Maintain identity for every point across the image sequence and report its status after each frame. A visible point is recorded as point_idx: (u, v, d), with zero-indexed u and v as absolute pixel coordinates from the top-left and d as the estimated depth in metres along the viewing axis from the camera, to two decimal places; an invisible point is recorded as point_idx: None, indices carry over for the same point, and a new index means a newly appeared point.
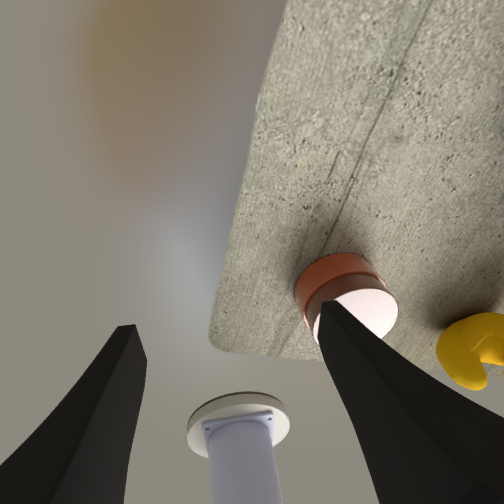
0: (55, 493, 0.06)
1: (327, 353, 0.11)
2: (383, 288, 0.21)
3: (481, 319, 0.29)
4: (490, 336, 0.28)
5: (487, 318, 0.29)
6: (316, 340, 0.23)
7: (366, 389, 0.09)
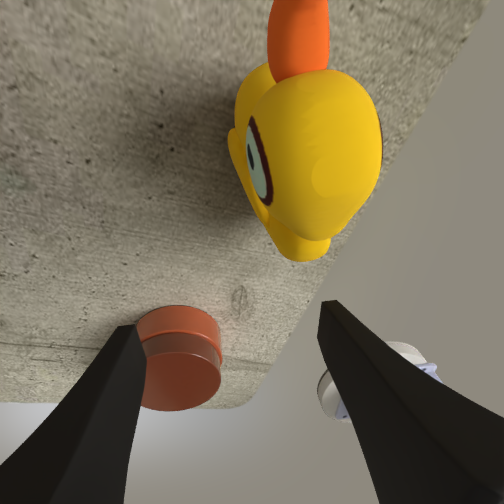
0: (55, 493, 0.06)
1: (327, 353, 0.11)
2: None
3: None
4: None
5: None
6: (195, 405, 0.23)
7: (366, 389, 0.09)
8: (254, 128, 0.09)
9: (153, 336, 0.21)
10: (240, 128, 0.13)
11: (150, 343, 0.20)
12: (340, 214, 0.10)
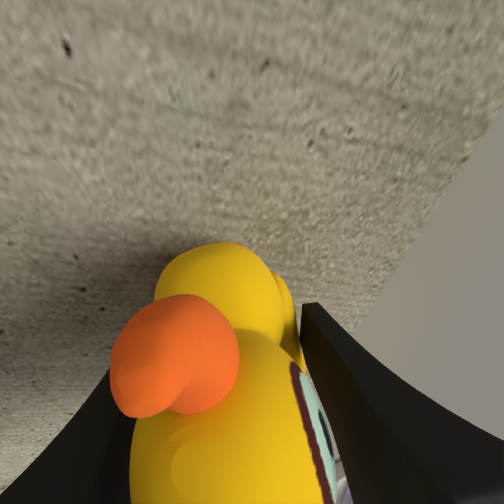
0: (93, 486, 0.06)
1: (308, 356, 0.11)
2: None
3: None
4: None
5: None
6: None
7: (341, 393, 0.09)
8: (129, 477, 0.06)
9: None
10: None
11: None
12: None
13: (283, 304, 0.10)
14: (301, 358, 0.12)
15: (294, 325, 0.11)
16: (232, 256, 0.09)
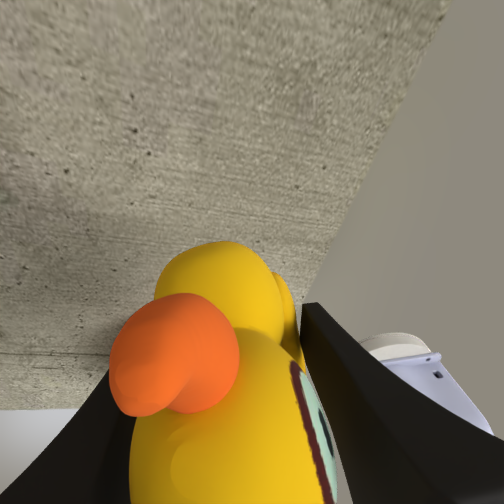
0: (93, 486, 0.06)
1: (308, 355, 0.11)
2: None
3: None
4: None
5: None
6: None
7: (341, 393, 0.09)
8: (129, 477, 0.06)
9: None
10: None
11: None
12: None
13: (283, 303, 0.10)
14: (301, 358, 0.12)
15: (294, 324, 0.11)
16: (232, 255, 0.09)
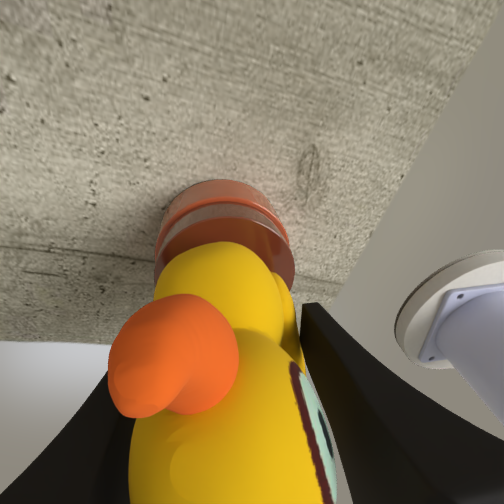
0: (93, 486, 0.06)
1: (308, 355, 0.11)
2: (159, 252, 0.13)
3: None
4: None
5: None
6: None
7: (341, 393, 0.09)
8: (128, 477, 0.06)
9: (194, 209, 0.14)
10: None
11: (191, 214, 0.14)
12: None
13: (283, 304, 0.10)
14: (301, 358, 0.12)
15: (294, 325, 0.11)
16: (231, 255, 0.09)
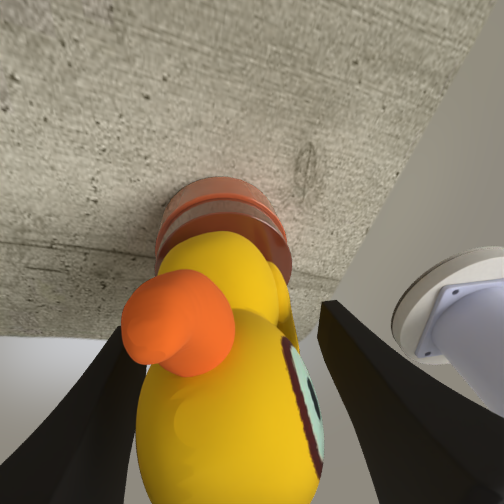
0: (55, 493, 0.06)
1: (327, 353, 0.11)
2: (159, 247, 0.14)
3: None
4: None
5: None
6: None
7: (366, 389, 0.09)
8: None
9: (193, 205, 0.14)
10: None
11: (190, 210, 0.14)
12: None
13: (277, 289, 0.11)
14: (295, 343, 0.13)
15: (288, 310, 0.11)
16: (229, 242, 0.10)
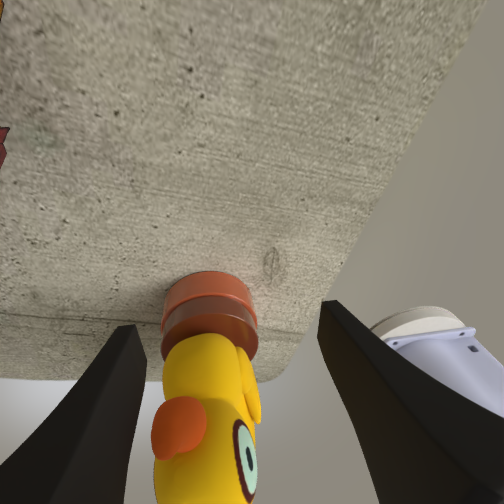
0: (55, 493, 0.06)
1: (327, 353, 0.11)
2: (164, 333, 0.20)
3: None
4: None
5: None
6: None
7: (366, 389, 0.09)
8: None
9: (188, 300, 0.20)
10: None
11: (185, 306, 0.20)
12: None
13: (241, 374, 0.17)
14: (257, 402, 0.19)
15: (249, 385, 0.17)
16: (208, 351, 0.16)
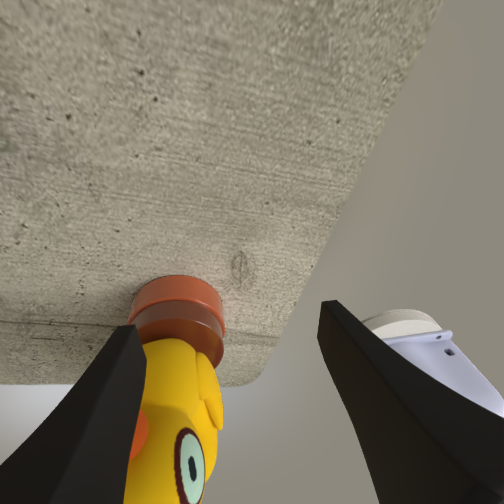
0: (55, 493, 0.06)
1: (327, 353, 0.11)
2: None
3: None
4: None
5: None
6: None
7: (366, 389, 0.09)
8: None
9: (151, 305, 0.20)
10: None
11: (147, 311, 0.20)
12: None
13: (197, 380, 0.17)
14: (218, 408, 0.19)
15: (206, 392, 0.17)
16: (160, 358, 0.16)
